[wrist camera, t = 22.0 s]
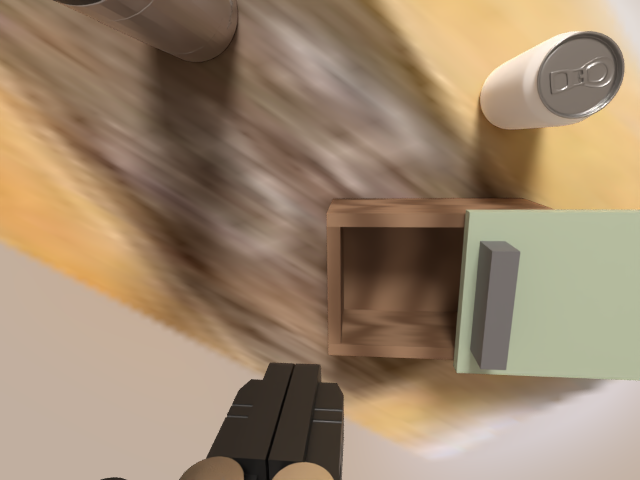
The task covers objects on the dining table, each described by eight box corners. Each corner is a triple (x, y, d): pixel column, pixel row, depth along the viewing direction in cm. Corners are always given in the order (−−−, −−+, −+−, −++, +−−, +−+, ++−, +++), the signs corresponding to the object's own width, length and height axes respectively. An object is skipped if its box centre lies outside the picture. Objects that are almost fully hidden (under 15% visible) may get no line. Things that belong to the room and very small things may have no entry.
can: (549, 121, 38) (633, 113, 26) (482, 136, 39) (534, 134, 27) (544, 53, 36) (630, 12, 25) (474, 69, 37) (526, 38, 26)
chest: (334, 314, 45) (328, 355, 37) (333, 198, 42) (326, 213, 33) (507, 319, 43) (544, 363, 35) (522, 198, 40) (567, 213, 31)
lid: (453, 365, 36) (465, 394, 31) (465, 209, 32) (481, 219, 28) (685, 374, 34) (730, 406, 29) (728, 209, 30) (786, 220, 26)
